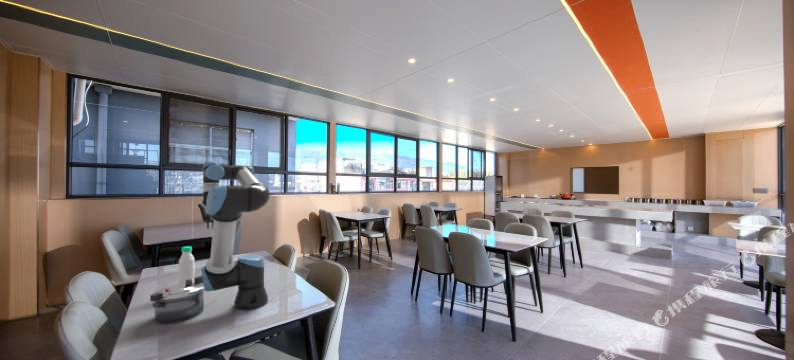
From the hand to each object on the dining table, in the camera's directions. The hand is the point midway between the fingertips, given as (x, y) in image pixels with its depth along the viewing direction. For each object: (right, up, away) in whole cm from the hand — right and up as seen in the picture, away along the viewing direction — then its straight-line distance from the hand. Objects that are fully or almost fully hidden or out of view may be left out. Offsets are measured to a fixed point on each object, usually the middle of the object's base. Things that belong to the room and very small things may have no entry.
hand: (211, 234), depth 157 cm
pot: (+1, -32, -21) cm, 39 cm away
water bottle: (-16, -33, +4) cm, 37 cm away
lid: (+1, -22, -21) cm, 30 cm away
